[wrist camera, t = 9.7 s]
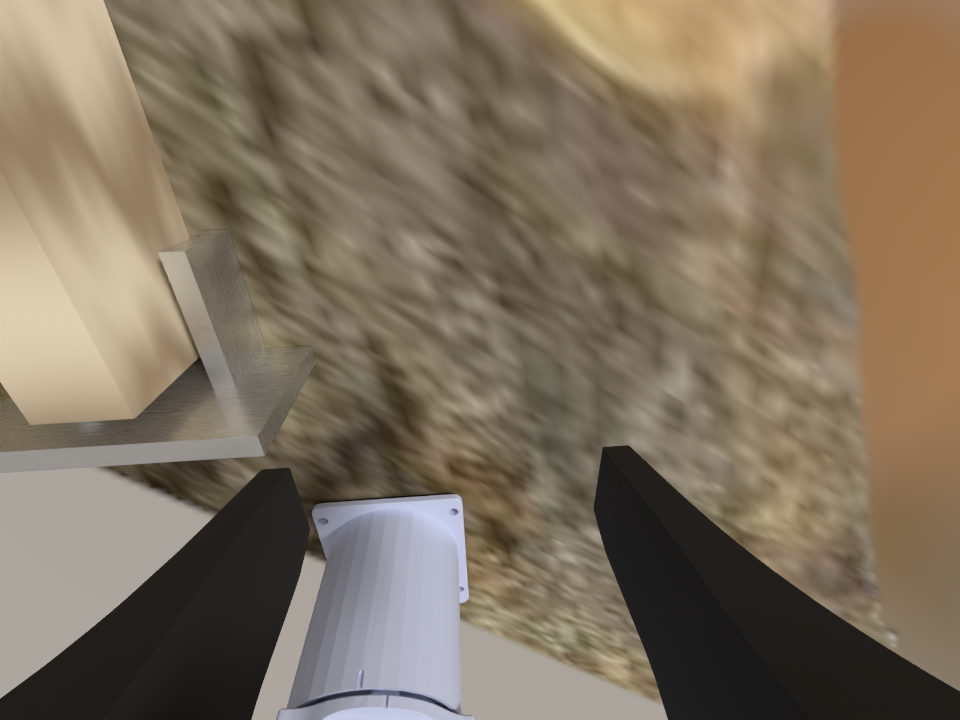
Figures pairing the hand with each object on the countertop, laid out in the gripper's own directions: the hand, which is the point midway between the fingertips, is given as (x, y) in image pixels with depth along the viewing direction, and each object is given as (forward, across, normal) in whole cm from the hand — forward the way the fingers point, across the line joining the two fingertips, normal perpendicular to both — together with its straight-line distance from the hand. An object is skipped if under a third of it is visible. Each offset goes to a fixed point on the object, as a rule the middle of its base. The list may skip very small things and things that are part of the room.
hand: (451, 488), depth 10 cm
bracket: (+9, +11, -2) cm, 15 cm away
